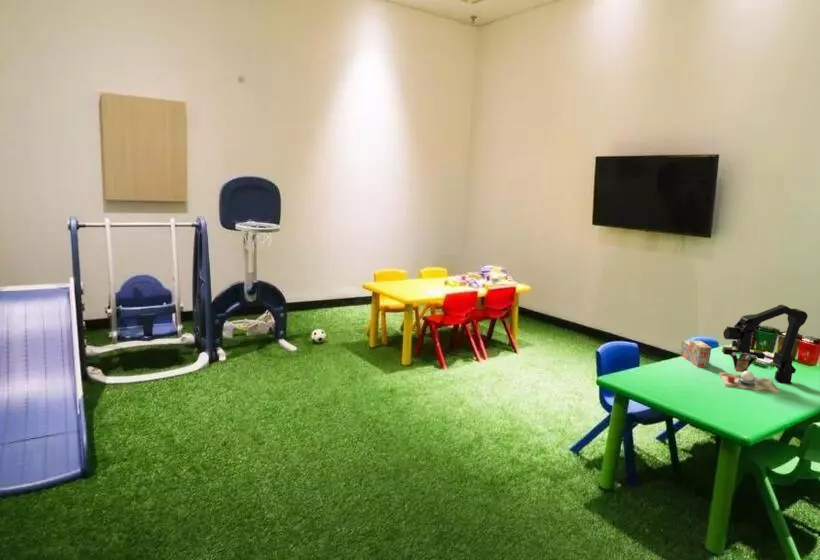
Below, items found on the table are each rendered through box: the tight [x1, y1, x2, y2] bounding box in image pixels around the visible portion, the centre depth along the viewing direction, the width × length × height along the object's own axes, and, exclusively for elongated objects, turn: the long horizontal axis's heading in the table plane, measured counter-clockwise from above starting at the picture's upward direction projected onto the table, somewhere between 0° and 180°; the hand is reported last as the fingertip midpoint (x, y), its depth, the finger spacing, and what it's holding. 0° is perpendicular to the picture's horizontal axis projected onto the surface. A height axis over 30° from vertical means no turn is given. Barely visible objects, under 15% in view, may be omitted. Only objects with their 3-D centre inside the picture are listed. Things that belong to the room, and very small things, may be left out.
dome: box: [739, 370, 755, 384], centre depth 277 cm, size 7×7×6 cm
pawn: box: [733, 354, 749, 373], centre depth 287 cm, size 5×5×8 cm
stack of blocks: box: [680, 340, 712, 368], centre depth 315 cm, size 21×6×12 cm, turn 179°
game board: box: [718, 371, 781, 395], centre depth 282 cm, size 24×18×4 cm
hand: (740, 368), depth 288 cm, fingers closed on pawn, 5 cm apart
